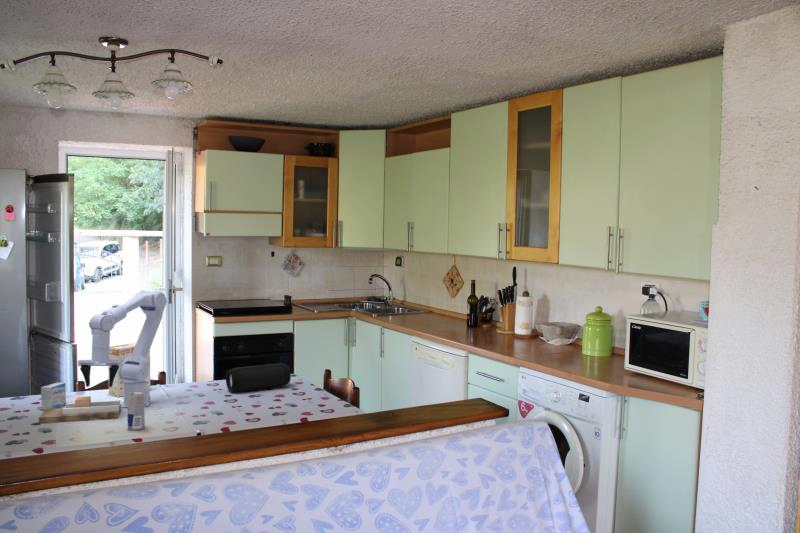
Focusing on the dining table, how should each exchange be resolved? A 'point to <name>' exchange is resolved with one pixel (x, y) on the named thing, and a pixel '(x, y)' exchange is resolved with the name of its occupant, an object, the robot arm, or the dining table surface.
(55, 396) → the medicine box
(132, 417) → the energy drink
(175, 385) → the dining table surface
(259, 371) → the portable speaker
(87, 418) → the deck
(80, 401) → the block
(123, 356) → the coffeecake box
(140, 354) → the robot arm
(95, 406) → the rails
